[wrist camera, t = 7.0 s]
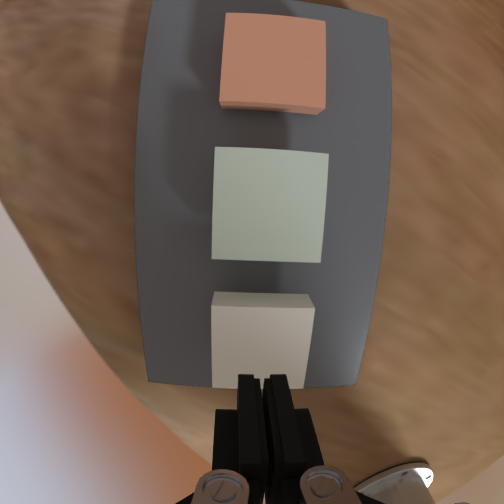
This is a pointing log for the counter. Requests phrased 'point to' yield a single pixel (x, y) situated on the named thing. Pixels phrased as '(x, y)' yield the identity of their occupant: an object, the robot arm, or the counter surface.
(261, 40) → the terracotta key
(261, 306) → the cream key
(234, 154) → the sage key
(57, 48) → the counter surface
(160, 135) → the keypad
